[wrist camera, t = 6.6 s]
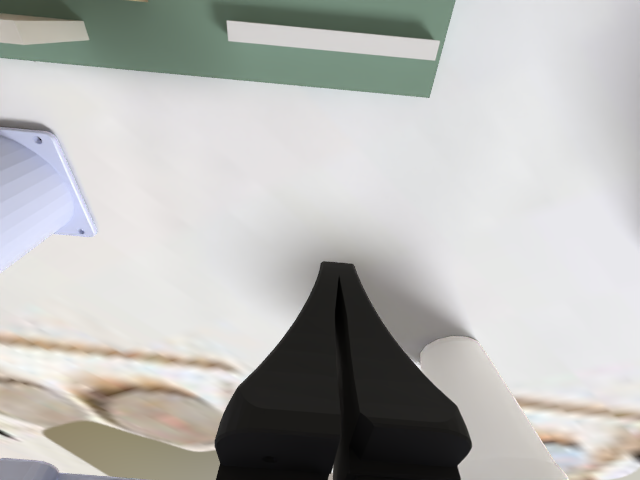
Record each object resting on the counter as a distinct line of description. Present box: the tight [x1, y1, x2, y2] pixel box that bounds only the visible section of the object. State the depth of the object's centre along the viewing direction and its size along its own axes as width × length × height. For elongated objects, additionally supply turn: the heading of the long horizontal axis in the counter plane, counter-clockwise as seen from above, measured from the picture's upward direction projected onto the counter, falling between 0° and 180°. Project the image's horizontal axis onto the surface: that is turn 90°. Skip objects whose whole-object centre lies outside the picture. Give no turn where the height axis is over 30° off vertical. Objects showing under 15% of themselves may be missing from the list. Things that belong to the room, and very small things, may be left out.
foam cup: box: [420, 336, 569, 480], centre depth 26 cm, size 10×9×13 cm
